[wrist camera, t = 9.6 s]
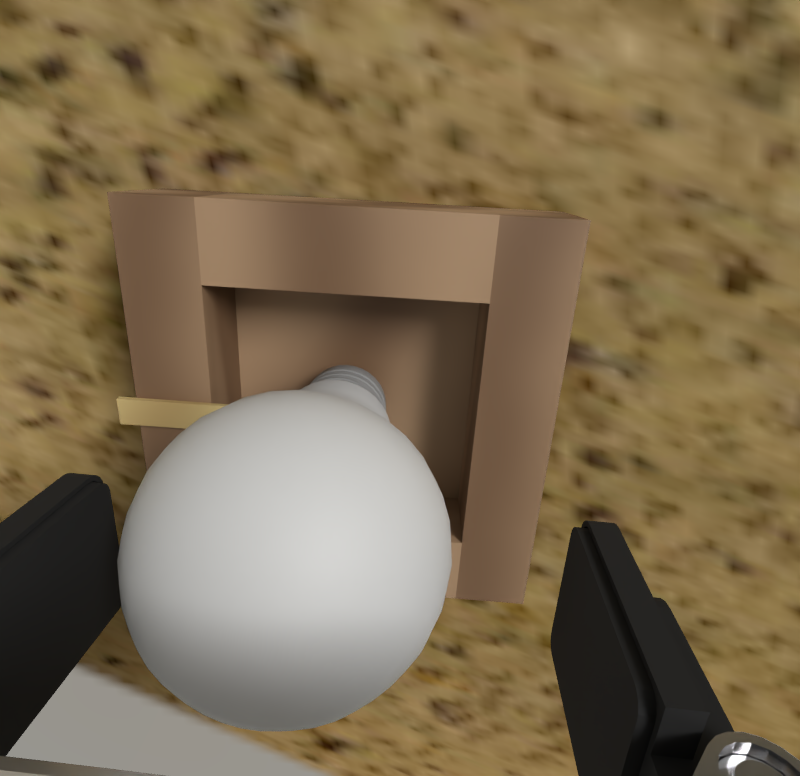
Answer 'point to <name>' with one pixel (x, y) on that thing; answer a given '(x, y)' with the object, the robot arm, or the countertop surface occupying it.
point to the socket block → (365, 335)
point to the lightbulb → (286, 556)
